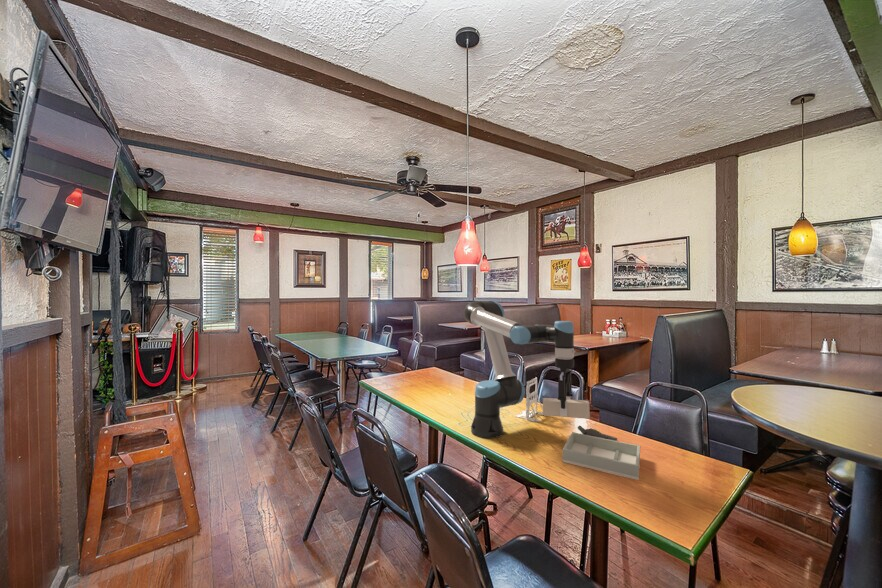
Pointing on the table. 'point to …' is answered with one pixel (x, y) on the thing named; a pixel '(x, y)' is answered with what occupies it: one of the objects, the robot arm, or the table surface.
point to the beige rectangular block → (573, 408)
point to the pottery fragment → (595, 433)
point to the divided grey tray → (603, 455)
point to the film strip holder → (526, 412)
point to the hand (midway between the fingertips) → (565, 413)
